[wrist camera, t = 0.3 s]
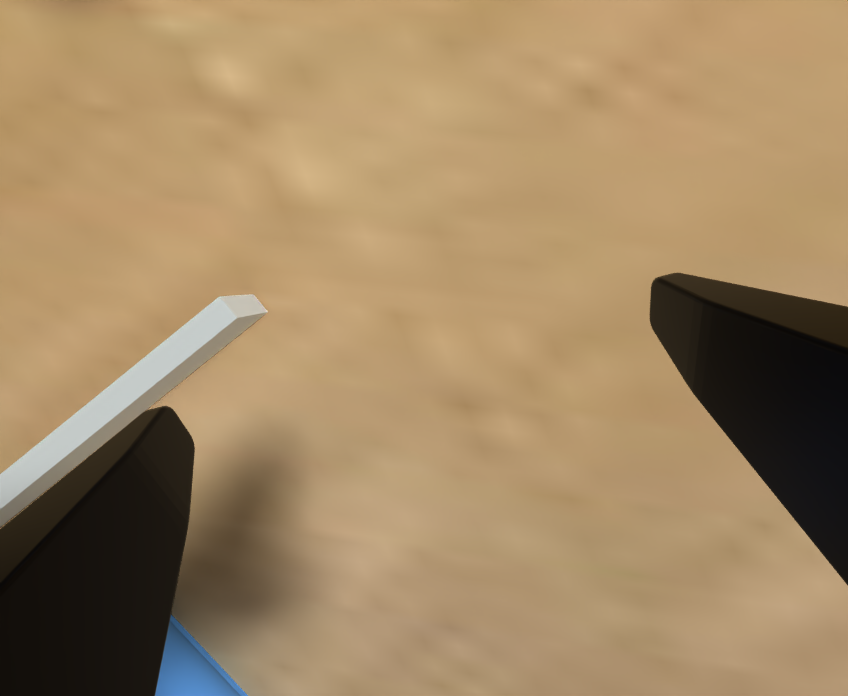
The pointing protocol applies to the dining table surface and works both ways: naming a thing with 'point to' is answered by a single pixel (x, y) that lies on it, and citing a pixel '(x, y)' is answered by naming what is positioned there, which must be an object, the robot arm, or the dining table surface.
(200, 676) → the blue capsule rod
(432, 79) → the dining table surface
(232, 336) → the light grey flat bar
